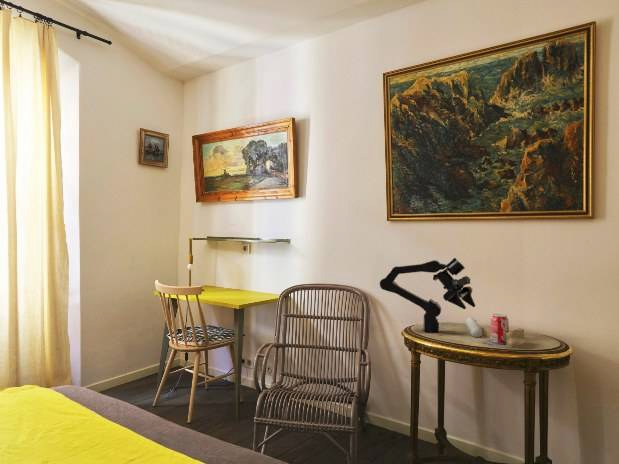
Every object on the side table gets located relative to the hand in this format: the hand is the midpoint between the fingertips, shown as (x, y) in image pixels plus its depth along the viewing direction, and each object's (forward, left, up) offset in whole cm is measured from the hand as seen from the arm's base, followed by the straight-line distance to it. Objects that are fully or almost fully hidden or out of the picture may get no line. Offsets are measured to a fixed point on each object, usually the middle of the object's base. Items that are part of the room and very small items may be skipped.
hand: (470, 307), depth 201 cm
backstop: (+16, -13, -14) cm, 24 cm away
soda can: (+9, -11, -13) cm, 20 cm away
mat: (+10, -12, -14) cm, 20 cm away
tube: (+5, +12, -14) cm, 19 cm away
